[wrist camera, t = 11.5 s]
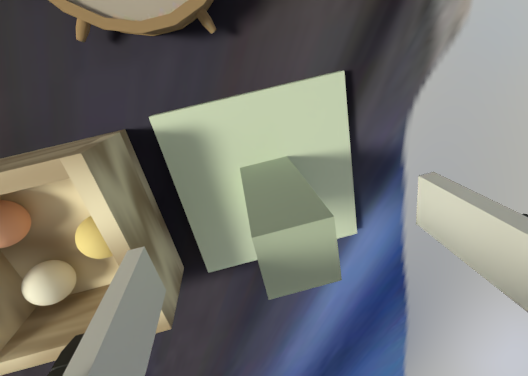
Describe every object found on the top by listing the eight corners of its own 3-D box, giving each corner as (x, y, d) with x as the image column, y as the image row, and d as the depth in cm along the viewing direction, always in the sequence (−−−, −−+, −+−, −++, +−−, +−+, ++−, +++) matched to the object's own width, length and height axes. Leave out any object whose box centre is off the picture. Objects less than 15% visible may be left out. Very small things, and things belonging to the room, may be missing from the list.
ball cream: (30, 257, 19) (-2, 287, 17) (72, 246, 19) (47, 275, 17) (52, 288, 20) (26, 320, 18) (91, 277, 21) (71, 308, 18)
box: (-59, 172, 17) (-191, 217, 12) (125, 129, 18) (80, 153, 12) (42, 304, 22) (-18, 380, 17) (184, 267, 23) (171, 329, 17)
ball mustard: (80, 211, 18) (55, 235, 16) (123, 200, 19) (105, 222, 16) (99, 246, 20) (79, 273, 17) (139, 235, 20) (126, 261, 17)
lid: (153, 114, 18) (77, 156, 9) (337, 71, 19) (451, 66, 9) (209, 263, 23) (199, 388, 14) (350, 226, 24) (432, 322, 15)
